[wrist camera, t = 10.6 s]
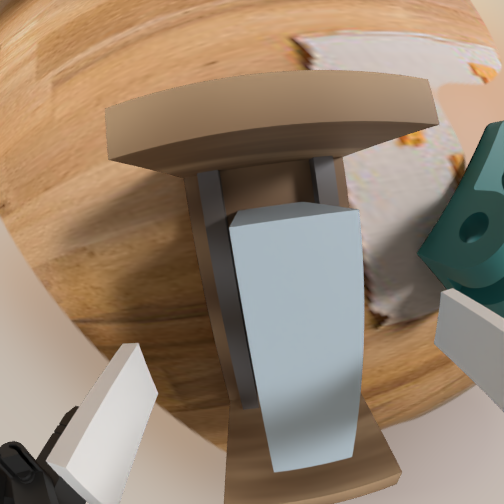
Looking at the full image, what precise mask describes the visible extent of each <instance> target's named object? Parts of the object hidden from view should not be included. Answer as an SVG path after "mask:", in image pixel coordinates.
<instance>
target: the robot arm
mask: <svg viewBox="0 0 504 504" xmlns="http://www.w3.org/2000/svg"><path fill="white" fill-rule="evenodd" d="M434 344H435V345H436V346H437V347H438V348H439V349H440V350H441V351H442V352H444V353H445V354H446V355H447V356H448V357H449V358H450V359H451V360H452V361H453V362H454V363H455V364H456V365H457V366H458V367H459V368H460V369H461V370H462V371H463V372H464V373H466V374H467V375H468V376H469V377H470V378H471V379H472V380H473V381H474V382H475V383H476V384H477V385H478V386H479V387H480V388H481V389H482V390H483V391H484V392H485V393H486V394H487V395H488V396H489V397H490V398H491V399H492V400H493V401H494V403H495V404H497V406H498V407H499V408H500V409H501V410H502V411H503V412H504V318H502V317H501V316H499V315H498V314H496V313H494V312H493V311H491V310H489V309H488V308H486V307H484V306H483V305H481V304H479V303H478V302H476V301H474V300H472V299H471V298H469V297H467V296H466V295H464V294H462V293H460V292H459V291H457V290H455V289H453V288H452V289H448V290H445V291H442V292H441V297H440V307H439V315H438V322H437V329H436V335H435V341H434ZM157 395H158V392H157V390H156V387H155V385H154V382H153V380H152V378H151V375H150V373H149V370H148V368H147V365H146V362H145V360H144V357H143V354H142V352H141V349H140V346H139V343H127V344H122V345H121V347H120V348H119V349H118V351H117V352H116V354H115V355H114V356H113V358H112V359H111V361H110V362H109V364H108V365H107V366H106V368H105V369H104V371H103V372H102V374H101V375H100V377H99V378H98V380H97V381H96V382H95V384H94V386H93V387H92V388H91V390H90V391H89V393H88V394H87V396H86V397H85V399H84V400H83V402H82V403H81V405H80V406H75V407H74V408H72V409H71V410H70V411H69V412H67V413H66V414H65V416H64V417H63V419H62V420H61V422H60V425H59V426H57V428H56V429H55V431H54V432H55V433H53V434H52V435H51V437H50V439H49V440H48V442H47V443H46V445H45V446H44V448H43V450H42V451H41V453H40V455H39V456H38V458H37V459H36V460H35V459H34V458H33V457H32V456H31V454H29V452H28V451H27V450H26V448H25V447H24V446H23V445H22V444H21V443H19V442H15V441H13V442H8V443H5V444H3V445H2V446H1V447H0V504H85V503H86V502H88V503H89V504H119V503H120V500H121V497H122V494H123V491H124V488H125V485H126V482H127V479H128V476H129V473H130V470H131V467H132V464H133V461H134V458H135V456H136V453H137V450H138V447H139V444H140V441H141V439H142V436H143V433H144V430H145V427H146V425H147V422H148V419H149V417H150V414H151V411H152V408H153V406H154V403H155V401H156V398H157Z"/></svg>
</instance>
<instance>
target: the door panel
mask: <svg viewBox="0 0 504 504" xmlns="http://www.w3.org/2000/svg"><path fill="white" fill-rule="evenodd" d="M229 230H230V236H231V243H232V249H233V255H234V261H235V267H236V273H237V279H238V285H239V291H240V296H241V302H242V308H243V314H244V319H245V325H246V331H247V336H248V342H249V347H250V353H251V358H252V364H253V369H254V374H255V380H256V385H257V390H258V395H259V401H260V406H261V411H262V416H263V421H264V426H265V431H266V436H267V441H268V446H269V451H270V456H271V461H272V465H273V470H274V472H282V471H289V470H295V469H301V468H307V467H312V466H317V465H322V464H326V463H330V462H335V461H339V460H343V459H346V458H350V457H352V455H353V449H354V442H355V436H356V428H357V421H358V412H359V403H360V393H361V381H362V366H363V345H364V274H363V253H362V238H361V225H360V214H359V210H358V209H351V208H345V207H338V206H331V205H324V204H316V203H309V202H297V203H289V204H282V205H274V206H267V207H260V208H253V209H247V210H240V211H238V212H237V214H236V215H235V217H234V219H233V221H232V223H231V225H230V227H229Z"/></svg>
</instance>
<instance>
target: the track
mask: <svg viewBox="0 0 504 504" xmlns="http://www.w3.org/2000/svg"><path fill="white" fill-rule="evenodd" d="M105 122H106V138H107V150H108V160H111V161H116V162H120V163H125V164H129V165H134V166H138V167H142V168H146V169H150V170H154V171H158V172H162V173H166V174H170V175H174V176H178V177H182V178H184V182H185V189H186V196H187V202H188V208H189V214H190V220H191V226H192V232H193V237H194V243H195V249H196V254H197V259H198V264H199V270H200V275H201V280H202V285H203V289H204V294H205V299H206V304H207V308H208V313H209V317H210V322H211V326H212V331H213V335H214V339H215V344H216V348H217V352H218V356H219V360H220V364H221V368H222V372H223V376H224V380H225V384H226V388H227V391H228V395H229V399H230V410H229V426H228V441H227V459H226V475H225V494H224V504H334V503H338V502H342V501H346V500H350V499H354V498H357V497H360V496H363V495H367V494H370V493H373V492H376V491H379V490H382V489H385V488H387V487H390V486H393V485H395V484H397V482H398V480H399V478H400V476H401V474H402V471H401V469H400V467H399V465H398V463H397V461H396V459H395V457H394V455H393V453H392V451H391V449H390V447H389V445H388V443H387V441H386V439H385V437H384V435H383V434H382V432H381V430H380V428H379V426H378V424H377V422H376V420H375V418H374V417H373V415H372V413H371V411H370V409H369V407H368V405H367V403H366V402H365V400H364V398H363V396H362V394H361V393H360V403H359V412H358V421H357V428H356V436H355V442H354V449H353V455H352V457H350V458H346V459H343V460H339V461H335V462H330V463H326V464H322V465H317V466H312V467H307V468H301V469H295V470H289V471H282V472H274V470H273V465H272V461H271V456H270V451H269V446H268V441H267V436H266V431H265V426H264V421H263V416H262V411H261V406H260V401H259V395H258V390H257V385H256V380H255V374H254V369H253V364H252V358H251V353H250V347H249V342H248V336H247V331H246V325H245V319H244V314H243V308H242V302H241V296H240V291H239V285H238V279H237V273H236V267H235V261H234V255H233V249H232V243H231V236H230V230H229V227H230V225H231V223H232V221H233V219H234V217H235V215H236V214H237V212H238V211H240V210H247V209H253V208H260V207H267V206H274V205H282V204H289V203H297V202H309V203H316V204H324V205H331V206H338V207H345V208H349V202H348V193H347V185H346V178H345V171H344V164H343V157H344V156H346V155H349V154H352V153H355V152H357V151H360V150H363V149H366V148H369V147H372V146H374V145H377V144H380V143H383V142H386V141H389V140H392V139H395V138H398V137H401V136H404V135H407V134H410V133H414V132H417V131H420V130H423V129H426V128H430V127H433V126H436V125H439V121H438V116H437V112H436V107H435V103H434V99H433V96H432V92H431V88H430V85H429V81H428V79H423V78H417V77H410V76H403V75H395V74H387V73H376V72H363V71H343V70H304V71H283V72H270V73H259V74H250V75H242V76H234V77H227V78H221V79H215V80H209V81H204V82H199V83H194V84H189V85H185V86H180V87H176V88H172V89H168V90H164V91H160V92H156V93H152V94H149V95H145V96H142V97H138V98H135V99H132V100H129V101H126V102H123V103H120V104H117V105H114V106H111V107H108V108H105Z"/></svg>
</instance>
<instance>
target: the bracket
mask: <svg viewBox="0 0 504 504" xmlns="http://www.w3.org/2000/svg"><path fill="white" fill-rule="evenodd" d="M417 254H418V256H419V257H420V258H421V259H422V260H423V261H424V262H425V264H426V265H427V266H428V267H429V268H430V269H431V270H432V272H433V273H434V274H435V275H436V276H437V278H438V279H439V280H440V281H441V282H442V284H443V285H444V286H445V287H446V289H447V290H448V289H452V288H453V289H455V290H457V291H459V292H460V293H462V294H464V295H466V296H467V297H469V298H471V299H472V300H474V301H476V302H478V303H479V304H481V305H483V306H484V307H486V308H488V309H489V310H491V311H493V312H494V313H496V314H498V315H499V316H501V317H502V318H504V121H499V122H495V123H490V124H488V125H487V126H486V128H485V129H484V132H483V134H482V136H481V139H480V141H479V143H478V145H477V148H476V149H475V152H474V154H473V156H472V158H471V160H470V162H469V164H468V166H467V168H466V172H465V174H464V176H463V178H462V180H461V182H460V184H459V186H458V187H457V189H456V191H455V193H454V195H453V196H452V198H451V200H450V202H449V203H448V205H447V207H446V209H445V210H444V212H443V214H442V215H441V217H440V218H439V220H438V222H437V223H436V225H435V226H434V228H433V230H432V231H431V233H430V234H429V236H428V237H427V239H426V240H425V242H424V243H423V245H422V246H421V248H420V249H419V251H418V252H417Z"/></svg>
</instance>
